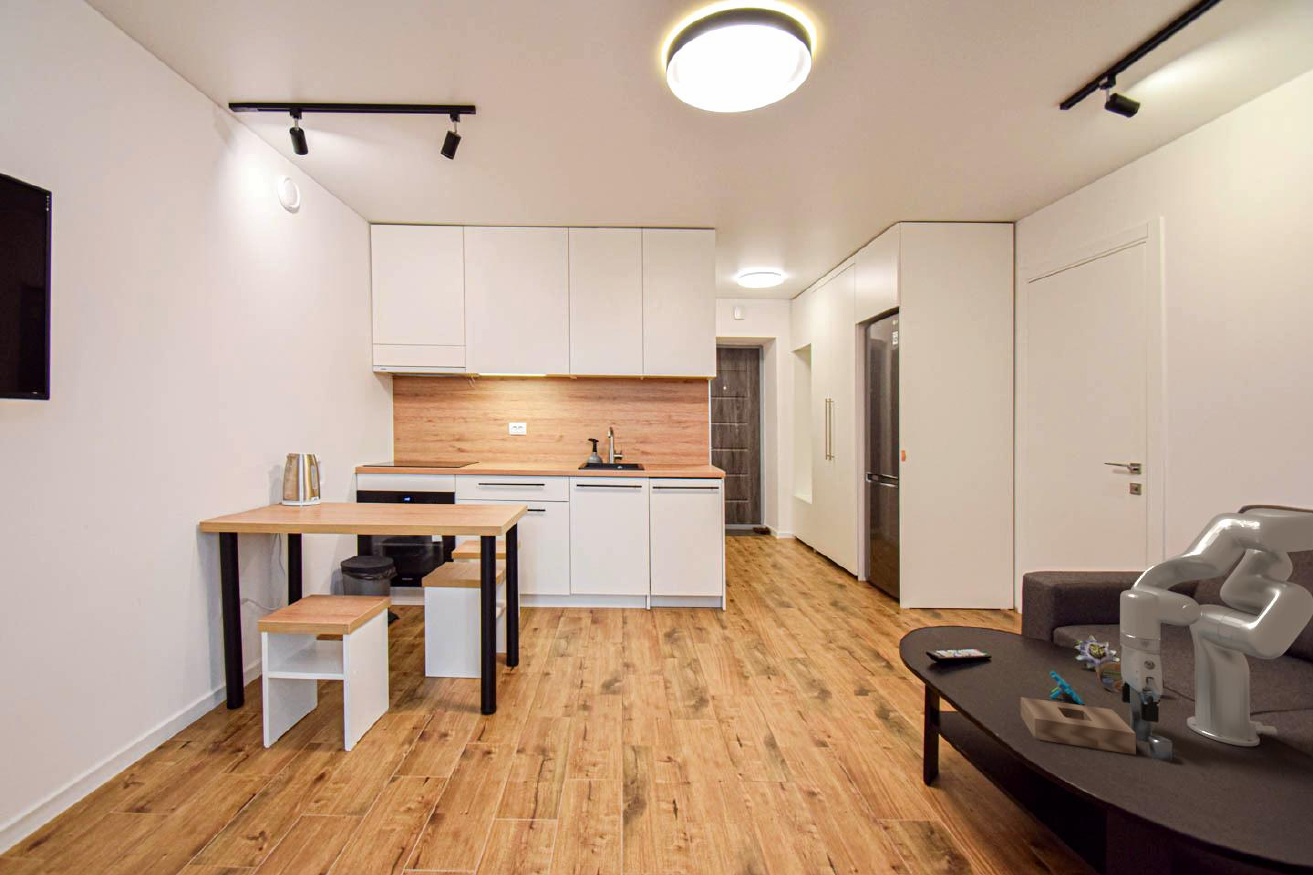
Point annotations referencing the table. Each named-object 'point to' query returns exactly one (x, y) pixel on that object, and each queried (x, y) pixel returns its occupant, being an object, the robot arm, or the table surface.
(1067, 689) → the gear
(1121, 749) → the hole block
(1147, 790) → the table surface
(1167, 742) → the short pin
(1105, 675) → the tin
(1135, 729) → the long pin
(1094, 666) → the passion flower
